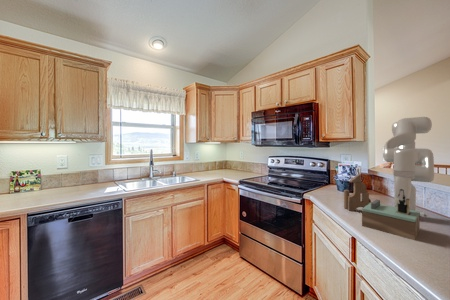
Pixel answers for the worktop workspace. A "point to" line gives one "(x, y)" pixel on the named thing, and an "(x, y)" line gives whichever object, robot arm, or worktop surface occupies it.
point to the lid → (390, 211)
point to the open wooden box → (391, 225)
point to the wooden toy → (356, 195)
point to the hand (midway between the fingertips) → (403, 210)
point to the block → (407, 207)
